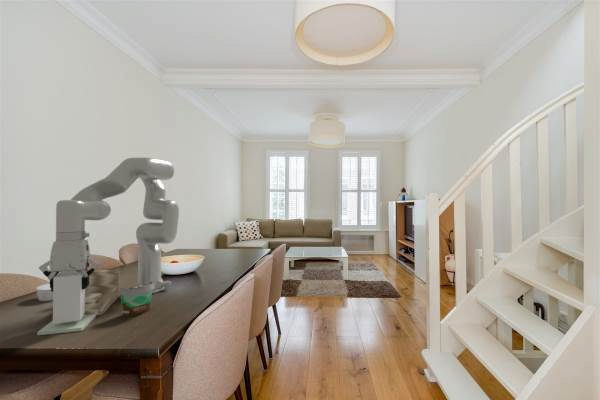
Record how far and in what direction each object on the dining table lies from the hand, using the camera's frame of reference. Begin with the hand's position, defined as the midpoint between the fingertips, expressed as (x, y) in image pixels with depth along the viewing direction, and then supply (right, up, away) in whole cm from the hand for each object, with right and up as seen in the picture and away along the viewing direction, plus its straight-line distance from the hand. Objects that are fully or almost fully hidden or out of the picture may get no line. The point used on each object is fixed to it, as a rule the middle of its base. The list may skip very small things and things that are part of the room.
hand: (69, 288), depth 95 cm
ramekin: (-28, -12, +26) cm, 41 cm away
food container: (+17, -13, +12) cm, 24 cm away
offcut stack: (-4, -12, +11) cm, 17 cm away
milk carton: (0, -10, 0) cm, 10 cm away
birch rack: (-5, -12, +16) cm, 21 cm away
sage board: (0, -12, 0) cm, 12 cm away
